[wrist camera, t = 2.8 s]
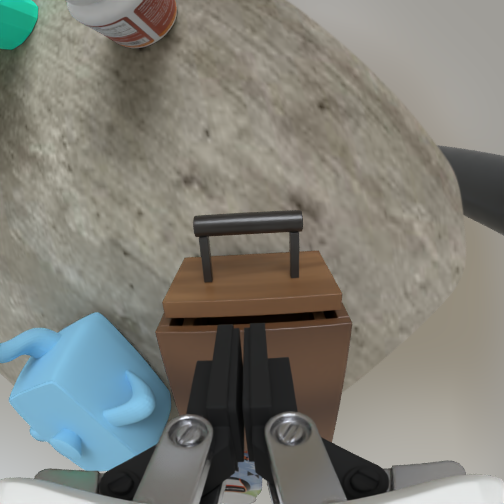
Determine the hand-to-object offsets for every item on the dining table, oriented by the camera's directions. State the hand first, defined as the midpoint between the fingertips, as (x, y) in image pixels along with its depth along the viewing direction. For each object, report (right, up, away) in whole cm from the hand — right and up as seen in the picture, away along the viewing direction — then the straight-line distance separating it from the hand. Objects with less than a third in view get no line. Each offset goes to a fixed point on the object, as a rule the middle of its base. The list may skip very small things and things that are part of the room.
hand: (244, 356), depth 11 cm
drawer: (0, 0, +17) cm, 17 cm away
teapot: (-17, -8, +21) cm, 28 cm away
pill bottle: (-9, +24, +9) cm, 27 cm away
